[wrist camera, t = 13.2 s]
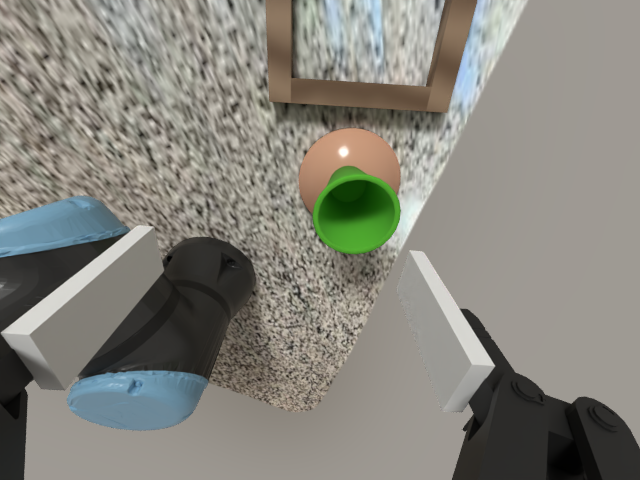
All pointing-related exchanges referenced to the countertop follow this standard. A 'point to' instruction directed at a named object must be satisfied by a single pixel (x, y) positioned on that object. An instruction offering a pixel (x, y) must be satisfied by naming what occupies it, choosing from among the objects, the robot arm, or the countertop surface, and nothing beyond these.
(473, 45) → the countertop surface
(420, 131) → the countertop surface
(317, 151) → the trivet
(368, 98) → the frame
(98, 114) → the countertop surface
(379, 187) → the cup
